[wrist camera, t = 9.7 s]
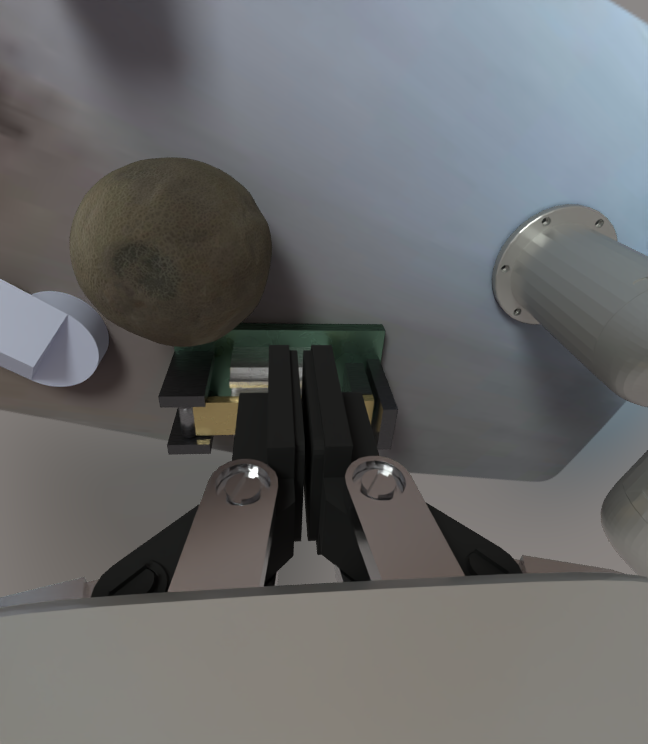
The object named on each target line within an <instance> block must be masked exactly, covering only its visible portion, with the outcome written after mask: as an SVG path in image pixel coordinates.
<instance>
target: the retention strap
mask: <svg viewBox="0 0 648 744" xmlns="http://www.w3.org/2000/svg"><path fill="white" fill-rule="evenodd" d="M363 399H364V402H365V406H366V409H367V413H368V417H369V420H370V424H371V420H372V414H373V407H374V398H373V395H363ZM238 401H239V396H210V397H207V402H206V406H205V407H178V410H179V417H180V423H181V430H182V435H183V436H184V437H187V438H191V437H194V436H196V435H235V428H236V419H237V410H238Z"/></svg>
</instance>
